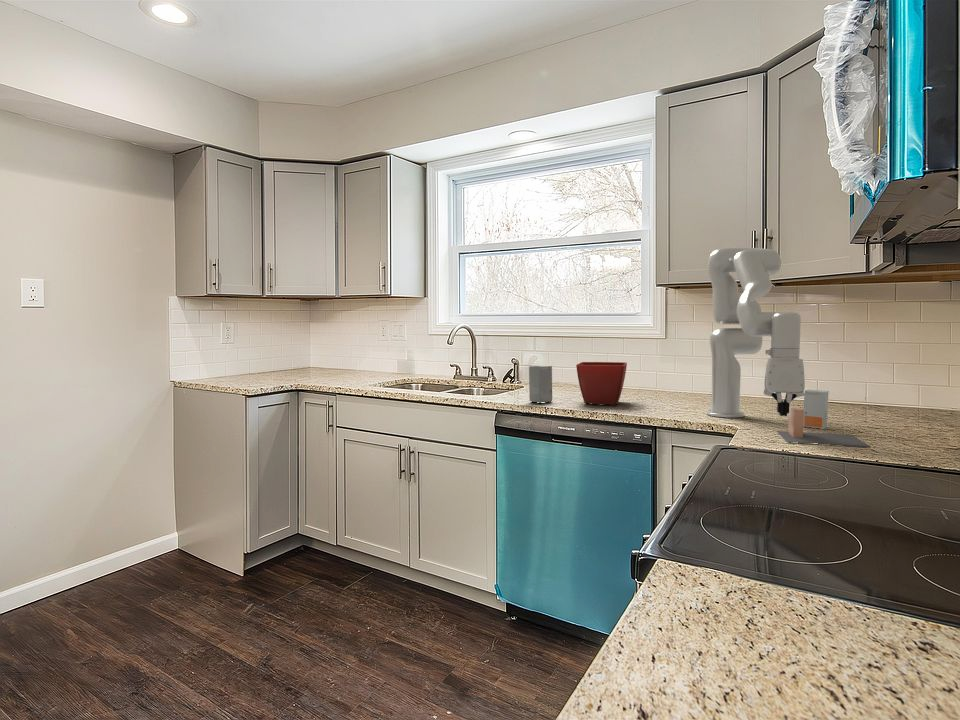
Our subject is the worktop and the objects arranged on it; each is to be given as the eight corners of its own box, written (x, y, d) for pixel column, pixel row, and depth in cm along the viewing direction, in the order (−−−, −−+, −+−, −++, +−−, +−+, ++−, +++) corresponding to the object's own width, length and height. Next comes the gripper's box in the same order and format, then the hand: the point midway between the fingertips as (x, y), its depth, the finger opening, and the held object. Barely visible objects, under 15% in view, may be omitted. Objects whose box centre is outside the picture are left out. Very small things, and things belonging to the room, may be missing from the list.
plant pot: (581, 399, 248) (582, 361, 247) (626, 401, 242) (627, 362, 241) (575, 405, 230) (575, 364, 229) (623, 407, 224) (624, 365, 223)
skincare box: (802, 427, 182) (803, 390, 181) (806, 425, 185) (807, 389, 184) (823, 429, 177) (825, 392, 176) (827, 427, 180) (828, 390, 179)
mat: (777, 432, 174) (777, 431, 174) (851, 436, 167) (851, 434, 167) (787, 443, 158) (787, 441, 158) (870, 447, 152) (870, 446, 152)
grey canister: (540, 404, 234) (540, 366, 233) (527, 402, 239) (527, 365, 238) (553, 402, 239) (553, 365, 238) (540, 400, 245) (541, 364, 243)
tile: (788, 432, 171) (789, 406, 171) (797, 432, 170) (798, 406, 170) (793, 437, 165) (794, 409, 164) (802, 437, 164) (803, 410, 163)
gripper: (759, 354, 166) (757, 416, 167) (816, 355, 161) (814, 418, 162) (755, 353, 173) (753, 412, 174) (810, 353, 168) (808, 414, 169)
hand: (783, 415), depth 168 cm, fingers closed
